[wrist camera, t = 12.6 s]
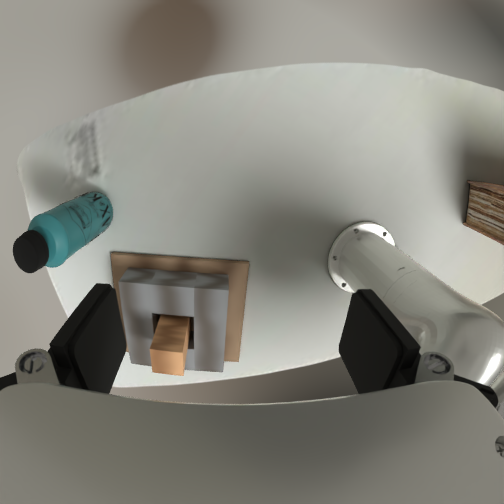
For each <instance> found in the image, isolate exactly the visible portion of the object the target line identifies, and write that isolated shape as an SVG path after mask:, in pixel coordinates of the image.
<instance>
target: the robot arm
mask: <svg viewBox="0 0 504 504" xmlns="http://www.w3.org/2000/svg"><path fill="white" fill-rule="evenodd" d="M354 229H355V230H354ZM333 256H334V257H333ZM328 269H329V273H330V276H331V278H332V279H333V281H334V282H335V283H336V285H337V286H338V287H339V288H341V289H342V290H344V291H347V292H351V293H353V294H352V297H351V301H350V305H349V310H348V313H347V317H346V321H345V325H344V329H343V333H342V336H341V340H340V343H339V353H340V355H341V357H342V360H343V362H344V364H345V365H346V368H347V370H348V372H349V374H350V376H351V378H352V380H353V382H354V385H355V387H356V389H357V391H358V393H359V394H357V395H350V396H344V397H336V398H328V399H320V400H310V401H298V402H286V403H264V404H204V403H185V402H170V401H158V400H149V399H141V398H133V397H126V396H119V395H112V394H109V393H110V390H111V388H112V385H113V382H114V380H115V377H116V375H117V372H118V370H119V367H120V365H121V362H122V360H123V357H124V355H125V352H126V348H127V344H126V339H125V334H124V330H123V325H122V321H121V316H120V311H119V305H118V300H117V294H116V290H115V288H112V287H111V285H110V284H100V283H97V284H95V285H94V287H93V288H92V289H91V290H90V292H89V293H88V294H87V295H86V297H85V298H84V299H83V300H82V301H81V303H80V304H79V305H78V307H77V308H76V309H75V310H74V312H73V313H72V314H71V316H70V317H69V318H68V320H67V321H66V322H65V323H64V325H63V326H62V328H61V329H60V330H59V332H58V333H57V334H56V336H55V337H54V339H53V340H52V341H51V343H50V349H49V350H48V352H47V351H45V350H43V349H31V350H28V351H26V352H24V353H23V354H21V355H20V356H19V358H18V359H17V361H16V363H15V370H16V372H14V373H12V374H9V375H7V376H4V377H1V378H0V504H504V371H503V372H502V373H501V374H500V375H499V376H498V374H499V373H500V371H501V369H502V368H503V366H504V322H503V321H502V319H500V318H499V317H498V316H497V315H496V314H495V313H493V312H492V311H490V310H489V309H487V308H486V307H484V306H482V305H480V304H478V303H476V302H474V301H472V300H471V299H469V298H467V297H465V296H463V295H462V294H460V293H459V292H457V291H455V290H454V289H452V288H451V287H450V286H448V285H447V284H445V283H444V282H443V281H441V280H440V279H438V278H437V277H436V276H435V275H433V274H432V273H431V272H429V271H428V270H427V269H425V268H424V267H423V266H421V265H420V264H419V263H417V262H416V261H414V260H413V259H412V258H411V257H410V256H408V255H406V254H405V253H403V252H402V251H401V250H399V249H398V248H396V247H395V244H394V240H393V238H392V236H391V235H390V233H389V232H388V231H387V230H386V229H385V228H384V227H382V226H380V225H379V224H376V223H373V222H360V223H357V224H354V225H352V226H350V227H348V228H347V229H345V230H344V231H343V232H342V233H341V234H340V235H339V236H338V237H337V239H336V240H335V242H334V243H333V245H332V247H331V250H330V253H329V257H328ZM497 376H498V378H497V379H496V377H497ZM495 379H496V380H495ZM494 380H495V381H494ZM493 381H494V382H493ZM490 385H491V386H490ZM489 386H490V387H489Z"/></svg>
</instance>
